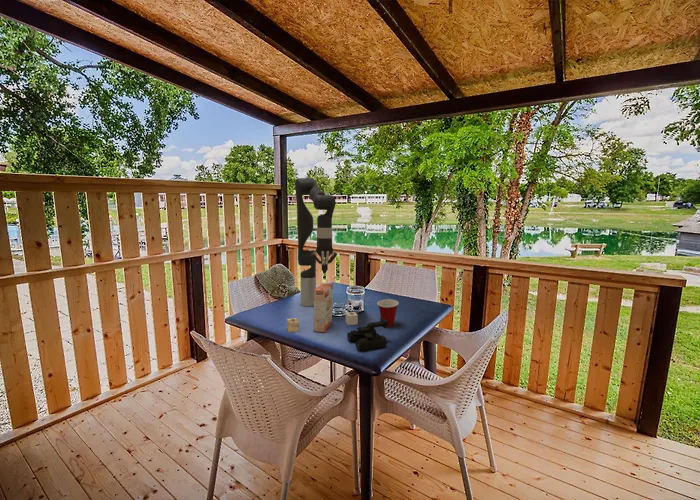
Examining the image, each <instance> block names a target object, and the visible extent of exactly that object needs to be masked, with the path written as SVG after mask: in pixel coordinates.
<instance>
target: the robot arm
mask: <svg viewBox="0 0 700 500" xmlns="http://www.w3.org/2000/svg"><path fill="white" fill-rule="evenodd" d="M294 186H295V187H294V190H295V198H296V199H295V200H296V213H297V214H296V215H297V216H296V225H297V226H296V229H297V230H296V231H297V263H298V266H303V267H305V266H306V267H307V266H308V267H309V266H310V267H309V268H307V269H305V270H302V271H301V272H300V306H302V307H314V290H315V289H316V288H317V264H320V265H321V271H322V272H323V273H327V271H329V270H328V269H329V267H328V265H329V264H332V263H333V261H335V258H337V256H338V253H337V252H335V251H334V249H333V227H332V225H333V216H334V212H335V208H336V203H337V202H336V200H337V199H336V198H335V196H333V195H332V194H326V193H325V192H323V190H322V189H321V188H320V187H319V185H318V184H317V182H316V181H315V179H314V178H312V177H304V178H303V177H301V178H300V177H299V178H296V179H295V183H294ZM303 196H309V199H310V200H311V201H312V202H313V203H312V204H313V207H314V208H315V210H318V211H326V212H325V213H323V214H320V215H317V217H316V220H317V221H316V223H317V224H316V227H317V228H316V248H315V250H313V249H312V250H311V249H304V247H305V244H306V243H307V240H308V239H309V238H310V236H311V234H312V233H313V231H314V217H313V215H312V213H311V212H310V210H309V209H308V207H307V205H306V204H305V202H304V199H303ZM318 256H319V257H320V258H318ZM329 257H330V258H329Z"/></svg>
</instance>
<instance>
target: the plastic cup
mask: <svg viewBox="0 0 700 500" xmlns="http://www.w3.org/2000/svg"><path fill="white" fill-rule="evenodd" d="M398 305H399V301H397V300H395V299H382V300H379V301H377V306H378V310H379V315H380V318H384V319H385V320H387V321H388V325H387V328H391V327H394V324H395V319H396V315H397V310H398V307H399V306H398Z"/></svg>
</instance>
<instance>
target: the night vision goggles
mask: <svg viewBox="0 0 700 500" xmlns="http://www.w3.org/2000/svg"><path fill="white" fill-rule="evenodd" d="M387 325H388V321H387V320H385V319H384V318H381V317H380V319H379V321H374V322H369V323H367V324H366V326H359V327H357V328H356V329H354V330H350V332H347V333H346V334H347V335H346V337H347V341H348V343H349V342H351V343H355V348H356V350H357V351H362V352H366V351H367V352H368V351H369V350H372V349H378V348H385V347H386V346H387V343H388V342H387V338H386V336H384V335H380V334H379V333H377V330H376V328H381V327H382V328H384V329H388V327H387Z"/></svg>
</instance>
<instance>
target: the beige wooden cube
mask: <svg viewBox="0 0 700 500" xmlns="http://www.w3.org/2000/svg"><path fill="white" fill-rule="evenodd" d="M358 316H359V315H358V314H357V312H356V311H349V312H348V311H347V312H345V323H346V324H347V326H354V325H356V326H357V325H358V321H359V319H358Z"/></svg>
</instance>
